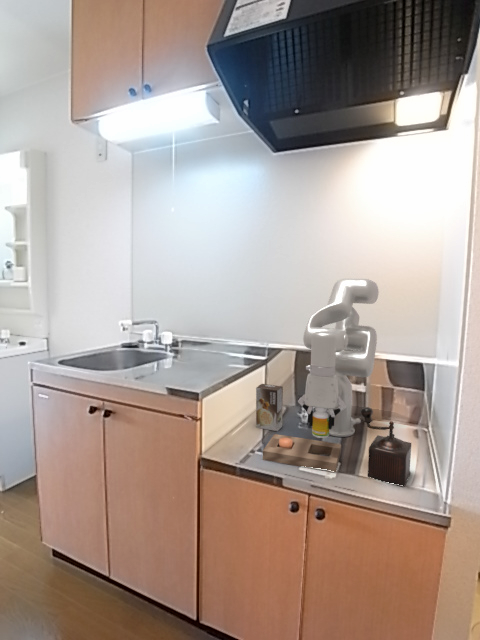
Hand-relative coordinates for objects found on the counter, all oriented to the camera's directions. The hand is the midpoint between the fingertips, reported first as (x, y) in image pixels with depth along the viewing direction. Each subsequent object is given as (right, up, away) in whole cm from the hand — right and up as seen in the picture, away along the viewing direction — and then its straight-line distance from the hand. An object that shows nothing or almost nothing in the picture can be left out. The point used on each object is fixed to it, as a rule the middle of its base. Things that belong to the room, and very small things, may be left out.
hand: (320, 425), depth 122 cm
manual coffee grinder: (+17, -12, -6) cm, 22 cm away
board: (-5, -11, +3) cm, 13 cm away
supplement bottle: (0, -3, 0) cm, 3 cm away
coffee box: (-14, -8, +28) cm, 32 cm away
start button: (-11, -9, +5) cm, 15 cm away
